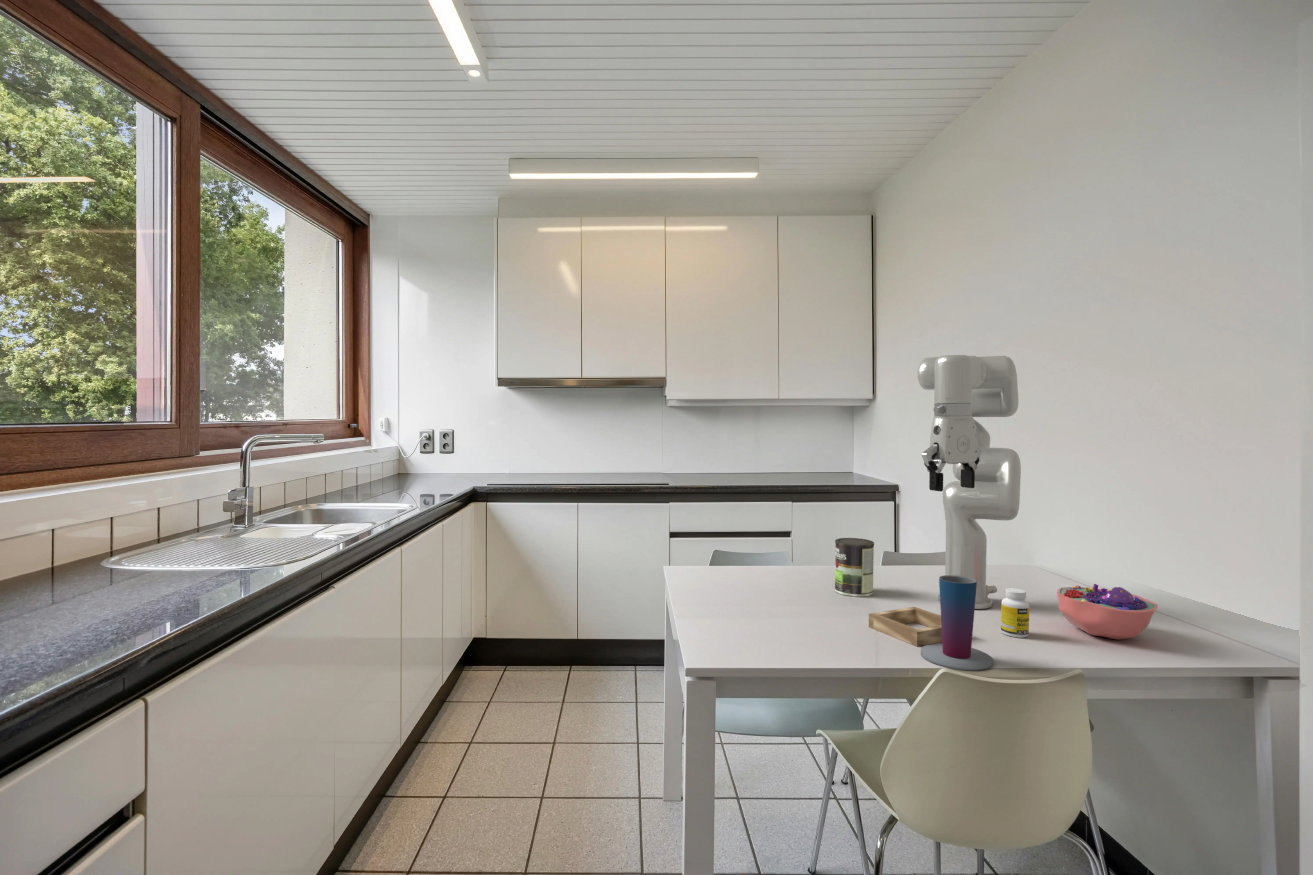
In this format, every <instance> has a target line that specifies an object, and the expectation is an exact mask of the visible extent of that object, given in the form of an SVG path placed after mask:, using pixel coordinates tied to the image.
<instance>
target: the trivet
mask: <svg viewBox="0 0 1313 875" xmlns="http://www.w3.org/2000/svg"><path fill="white" fill-rule="evenodd" d="M920 656H921V657H922V658H923V659H924V660H926V661H928V662H930V663H931V664H934V665H937V666H940V667H943V668H947V669H953V670H958V671H967V672H968V671H971V672H973V671H984V670H985V671H986V670H988V669H991V667H993V665H994V659H993V658H992V656H991V655H990V654H988V653H986V652H984V651H982V650H980V649H976V648H973V647H971V656H970V658H967V659H958V658H952V657H949V656H946V655H945V654H943V648H942V643H932V644H927V645H923V646H922V647H921V648H920Z"/></svg>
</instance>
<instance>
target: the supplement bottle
mask: <svg viewBox="0 0 1313 875" xmlns="http://www.w3.org/2000/svg"><path fill="white" fill-rule="evenodd" d="M1005 596H1006V597H1004V598H1002V600H1001V610H1000V612H1001V613H1000V633H1001V634H1003V635H1005V636H1008V637H1012V638H1018V639H1021V638H1023V639H1025V638H1027V637H1028V636H1029V632H1030V628H1029V627H1030V626H1029V625H1030V603H1029V602H1028V601H1027V600H1026V599H1027V591H1026V589H1025V590H1023V589H1021V588H1015V587H1008V588H1005Z"/></svg>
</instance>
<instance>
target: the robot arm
mask: <svg viewBox="0 0 1313 875" xmlns="http://www.w3.org/2000/svg"><path fill="white" fill-rule="evenodd" d="M917 381H918V383H919V385H920V387H921V388H922V389H923V390H927V391H931V390H934V398H933V399H934V402H933V404H934V406H933V413H934V414H933V415H934V416H933V419H932V423H931V428H930V429H931V430H930V439H929V441H930V442H929V447H928V448H927V449H925V450H924V451H923V452H922V453H921V458H922V460H923V462H924V463H923V464H924V466H925V468H926V471H927V472H928V474H929V478H928V479H929V480H928V481H929V485H928V486H929V487H928V488H929V490H930V491H932V492H933V491H934V492H942V504H943V512H944V518H945V565H944V566H945V569H944V570H945V571H944V573H945V574H944V575H956V576H964V577H969V578H973V579H975V580H977V587H976V599H975V610H983V609H984V610H985V609H990V608H992V607H993V599H990V598H989V597H988V596H989V595H990V594H996V593H997V592H998V587H997V586H996V585H987V535H986V532H985V531H984V529H983V528H982V526H981V525H980V524H979V523H978V521H977V520H989V521H990V520H993V521H1012V520H1014V519H1016V517H1017V516H1018V514H1019V510H1020V504H1021V503H1020V502H1021V500H1020V499H1021V498H1020V496H1021V476H1022V475H1021V473H1022V471H1021V470H1022V468H1021V467H1022V465H1021V457H1020V456H1019V453H1017V451H1015V450H1014V449H1013V448H1007V447H1006V448H1005V447H991V446H990V444H991V436H990V433H989V431H988V430H987V429H986V428H985V427H984V426H983V425H982V424H981V423H980V422H978V421H977V420H976V419H975V418H1007V417H1011V416H1014V415H1015V414H1016V412H1017V411H1018V408H1019V389H1018V388H1019V387H1018V373H1017V368H1016V365H1015V363H1014V361H1013V359H1012V358H1011V357H1009V356H1006V355H991V356H989V355H987V356H976V355H968V354H967V355H966V354H948V355H946V354H945V355H941V356H935V357H925V358H923V359H922V360H921V361H920V363H919V365H918V368H917ZM946 464H947V465H952V474H953V476H954V478H955V479H957V480H955V481H951V482H949V483H947V484H945V486H944V473H943V472H942V471H943V469H944V468H945V466H946ZM938 601H939V602H940V593H939V594H938Z"/></svg>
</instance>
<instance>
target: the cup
mask: <svg viewBox="0 0 1313 875" xmlns="http://www.w3.org/2000/svg"><path fill="white" fill-rule="evenodd" d="M938 584H939V594H940V601H939V604H940V615H941V628H942V643H941V644H942V648H943V654H945V655H946V656H949V657H952V658H958V659H967V658H970V656H971V648H972V645H973V643H972V642H973V633H974V632H973V631H974V622H975V621H974V620H975V619H974V618H975V610H976V609H975V599H976V587H977V580H975V579H973V578H969V577H964V576H956V575H945V574H944V575H940V576H939V577H938Z"/></svg>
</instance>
